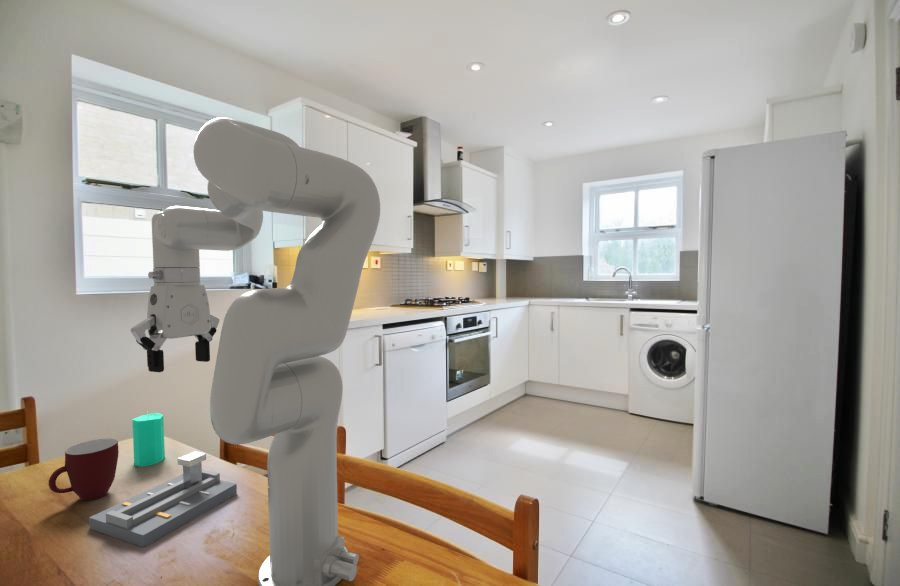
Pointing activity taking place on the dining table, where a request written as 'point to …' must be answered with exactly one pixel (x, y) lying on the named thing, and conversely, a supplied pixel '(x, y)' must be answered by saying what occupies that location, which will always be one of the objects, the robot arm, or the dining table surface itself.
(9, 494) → the dining table surface
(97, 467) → the mug
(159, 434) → the candle
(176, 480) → the console
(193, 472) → the fader tab
